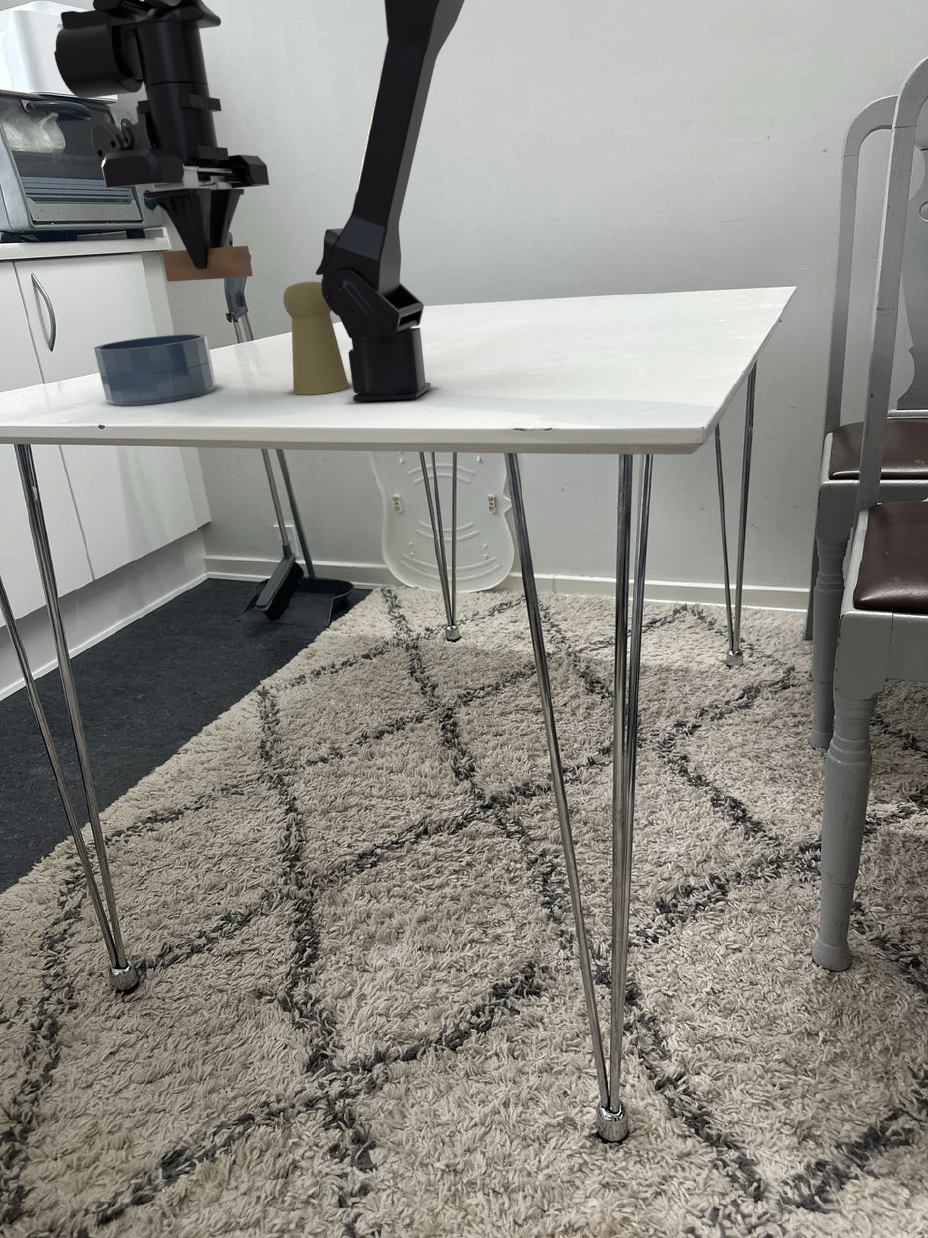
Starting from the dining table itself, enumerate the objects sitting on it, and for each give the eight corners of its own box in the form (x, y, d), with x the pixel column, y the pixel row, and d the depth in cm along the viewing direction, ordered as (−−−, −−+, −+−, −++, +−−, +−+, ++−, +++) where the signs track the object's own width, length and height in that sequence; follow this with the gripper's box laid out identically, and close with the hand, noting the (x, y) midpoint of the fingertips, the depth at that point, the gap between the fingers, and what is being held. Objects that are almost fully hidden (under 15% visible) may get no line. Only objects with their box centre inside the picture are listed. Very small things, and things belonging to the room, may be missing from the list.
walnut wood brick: (253, 275, 88) (248, 245, 87) (243, 277, 87) (238, 246, 86) (177, 280, 91) (172, 250, 90) (167, 281, 90) (161, 251, 89)
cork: (338, 393, 94) (323, 282, 90) (284, 395, 95) (267, 286, 91) (356, 383, 99) (342, 277, 95) (305, 385, 101) (290, 282, 96)
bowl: (233, 383, 107) (224, 331, 104) (183, 403, 96) (172, 346, 94) (143, 388, 110) (132, 337, 107) (84, 408, 99) (70, 352, 96)
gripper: (168, 105, 93) (196, 265, 99) (33, 87, 77) (77, 279, 84) (259, 93, 89) (282, 260, 96) (138, 71, 73) (175, 273, 80)
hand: (207, 267), depth 89 cm, fingers closed on walnut wood brick, 2 cm apart
